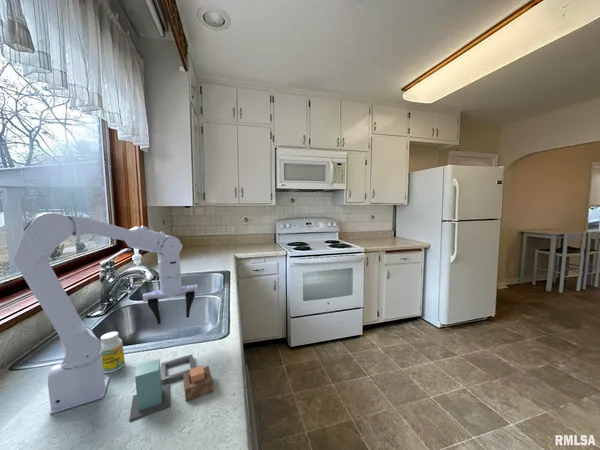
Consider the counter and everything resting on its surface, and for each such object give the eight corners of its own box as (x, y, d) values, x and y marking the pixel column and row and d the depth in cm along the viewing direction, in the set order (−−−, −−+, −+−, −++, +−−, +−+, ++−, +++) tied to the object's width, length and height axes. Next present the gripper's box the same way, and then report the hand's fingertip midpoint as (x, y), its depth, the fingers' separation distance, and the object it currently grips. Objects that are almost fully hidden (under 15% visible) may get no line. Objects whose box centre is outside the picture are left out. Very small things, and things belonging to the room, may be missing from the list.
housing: (185, 401, 58) (184, 389, 58) (184, 385, 63) (183, 373, 63) (213, 391, 61) (212, 379, 60) (209, 376, 66) (208, 365, 66)
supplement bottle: (125, 359, 75) (121, 328, 74) (124, 368, 70) (121, 336, 69) (102, 366, 72) (98, 333, 71) (100, 376, 67) (96, 342, 66)
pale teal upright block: (138, 411, 55) (135, 376, 54) (140, 397, 59) (137, 364, 58) (161, 403, 57) (158, 369, 56) (162, 390, 61) (159, 358, 60)
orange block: (192, 392, 60) (190, 376, 60) (190, 384, 63) (189, 369, 62) (205, 387, 61) (204, 372, 61) (203, 380, 64) (202, 365, 64)
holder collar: (161, 385, 64) (160, 380, 63) (161, 367, 71) (161, 363, 70) (195, 373, 67) (195, 369, 67) (192, 358, 74) (192, 354, 74)
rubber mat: (129, 421, 53) (129, 419, 53) (133, 397, 60) (133, 395, 60) (170, 406, 57) (170, 405, 57) (169, 385, 63) (169, 383, 63)
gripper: (140, 283, 68) (144, 331, 70) (197, 274, 75) (201, 318, 76) (142, 277, 75) (146, 321, 76) (195, 269, 81) (198, 310, 83)
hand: (173, 319), depth 77 cm, fingers open, 7 cm apart
